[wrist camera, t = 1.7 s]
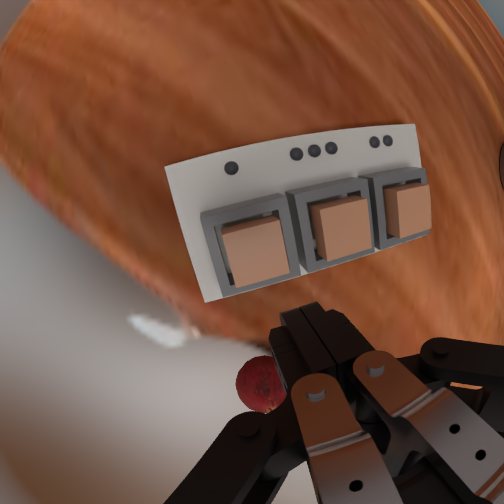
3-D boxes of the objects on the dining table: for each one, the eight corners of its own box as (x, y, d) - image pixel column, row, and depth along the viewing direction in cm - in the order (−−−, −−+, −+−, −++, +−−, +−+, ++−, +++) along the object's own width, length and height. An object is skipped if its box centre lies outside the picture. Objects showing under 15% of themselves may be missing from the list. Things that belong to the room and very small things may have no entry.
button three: (354, 195, 21) (366, 198, 20) (359, 241, 23) (371, 247, 21) (309, 205, 21) (319, 209, 19) (317, 253, 22) (327, 261, 20)
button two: (415, 182, 22) (429, 184, 20) (417, 223, 23) (431, 228, 21) (382, 188, 22) (396, 191, 20) (386, 232, 23) (400, 238, 21)
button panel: (403, 125, 24) (431, 122, 20) (414, 230, 28) (440, 241, 24) (167, 166, 22) (159, 166, 18) (204, 292, 26) (205, 317, 22)
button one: (272, 214, 21) (279, 219, 19) (282, 263, 22) (289, 272, 20) (220, 228, 20) (221, 235, 19) (233, 277, 22) (236, 288, 20)
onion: (228, 346, 28) (237, 401, 21) (281, 336, 29) (304, 386, 22) (236, 384, 30) (246, 436, 23) (284, 374, 31) (304, 423, 23)
